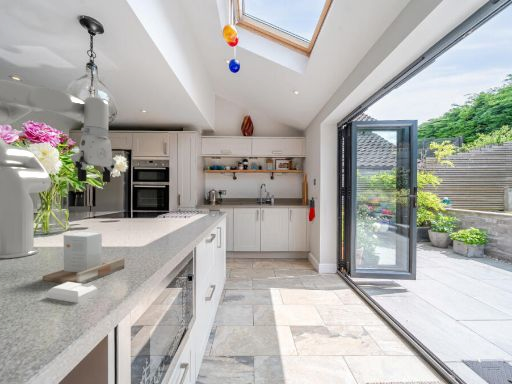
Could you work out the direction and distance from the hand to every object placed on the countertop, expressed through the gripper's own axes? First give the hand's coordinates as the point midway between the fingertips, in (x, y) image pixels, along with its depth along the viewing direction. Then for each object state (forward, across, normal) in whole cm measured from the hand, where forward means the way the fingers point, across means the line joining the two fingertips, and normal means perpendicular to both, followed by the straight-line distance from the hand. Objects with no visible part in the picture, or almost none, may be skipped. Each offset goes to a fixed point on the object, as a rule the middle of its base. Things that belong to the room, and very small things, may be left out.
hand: (94, 181), depth 94 cm
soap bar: (+27, -27, -26) cm, 46 cm away
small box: (+26, -15, -14) cm, 33 cm away
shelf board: (+27, -15, -15) cm, 34 cm away
